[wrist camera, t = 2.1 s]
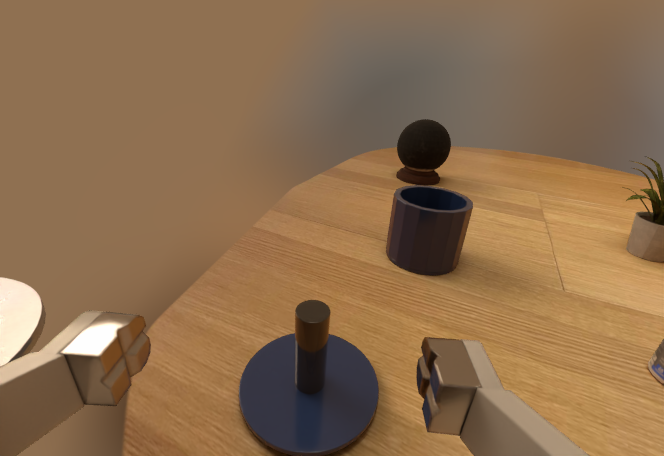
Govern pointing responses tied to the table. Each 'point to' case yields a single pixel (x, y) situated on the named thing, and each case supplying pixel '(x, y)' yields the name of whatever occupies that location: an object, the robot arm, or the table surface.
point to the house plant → (649, 223)
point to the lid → (308, 388)
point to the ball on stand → (422, 152)
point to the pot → (427, 229)
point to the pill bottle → (657, 363)
